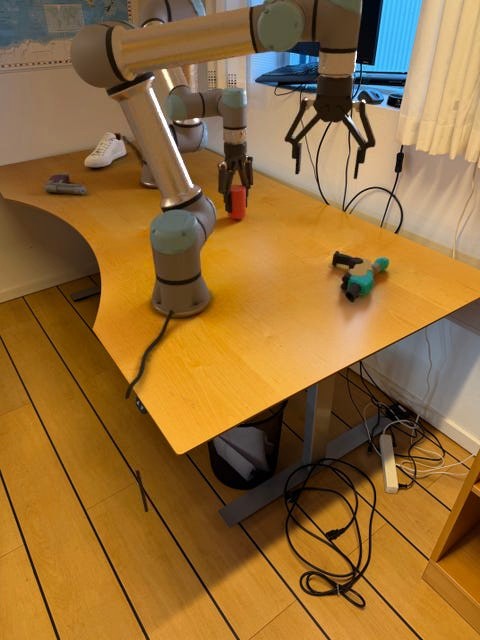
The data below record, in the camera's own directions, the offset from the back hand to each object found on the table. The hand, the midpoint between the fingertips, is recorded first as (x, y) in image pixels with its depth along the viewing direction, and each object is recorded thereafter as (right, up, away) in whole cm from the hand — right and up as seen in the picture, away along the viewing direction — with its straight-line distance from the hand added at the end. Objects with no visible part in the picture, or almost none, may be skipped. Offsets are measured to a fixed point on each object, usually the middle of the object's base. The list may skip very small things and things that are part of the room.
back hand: (236, 208), depth 166 cm
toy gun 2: (+33, -28, -33) cm, 54 cm away
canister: (0, -2, +1) cm, 2 cm away
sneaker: (-62, +35, +55) cm, 90 cm away
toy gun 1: (-68, +14, +27) cm, 75 cm away
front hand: (+22, -5, -54) cm, 59 cm away
